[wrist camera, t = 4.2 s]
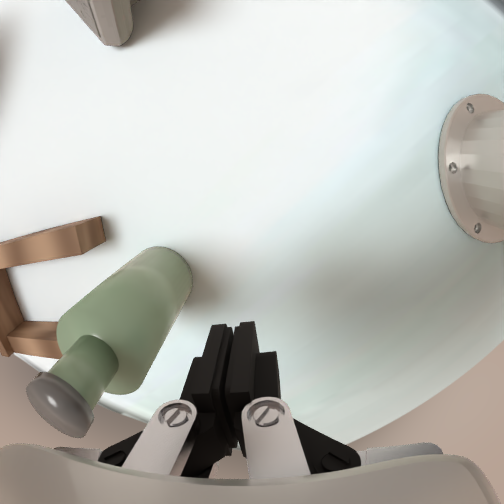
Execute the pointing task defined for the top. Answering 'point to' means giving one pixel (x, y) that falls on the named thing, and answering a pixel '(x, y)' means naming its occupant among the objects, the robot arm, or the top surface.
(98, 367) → the bottle
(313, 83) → the top surface
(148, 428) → the robot arm
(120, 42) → the digital clock
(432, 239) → the top surface
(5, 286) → the rest
